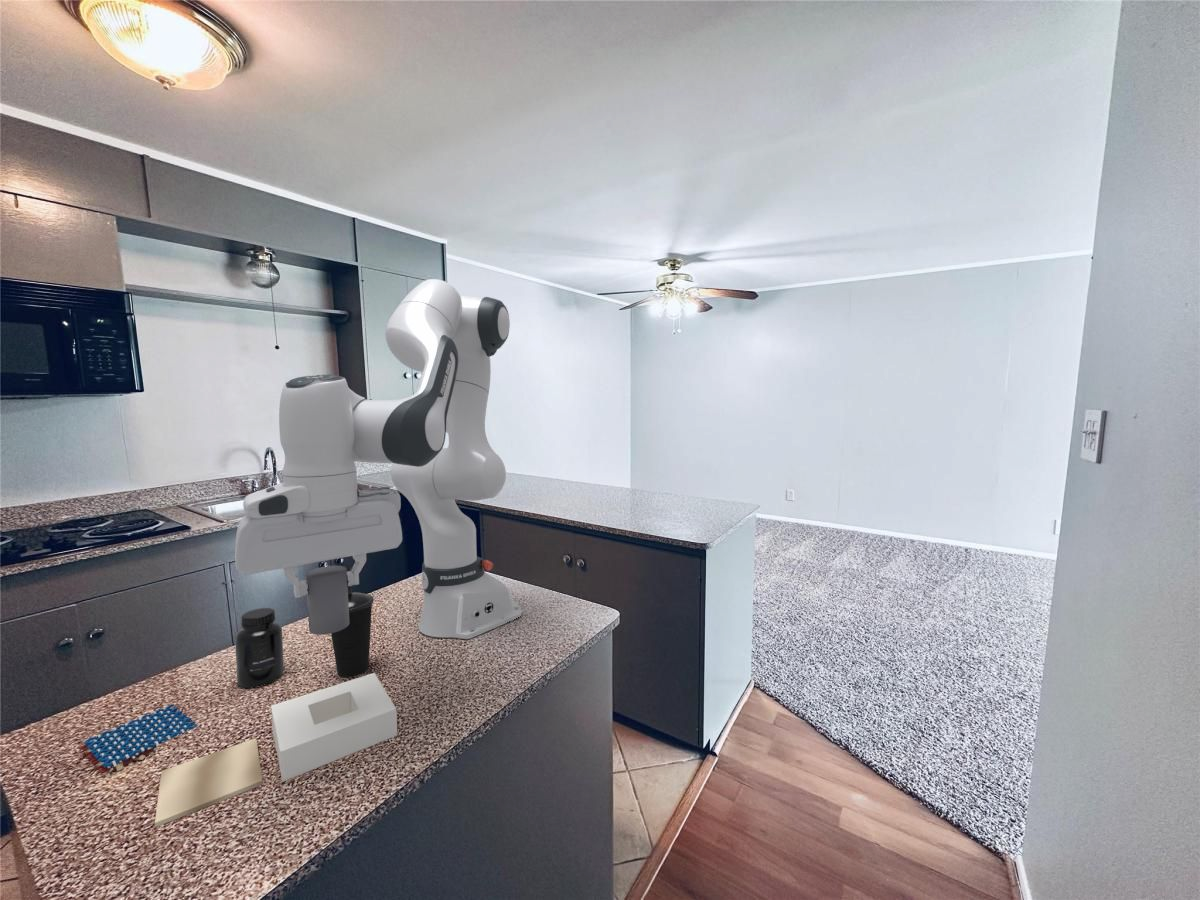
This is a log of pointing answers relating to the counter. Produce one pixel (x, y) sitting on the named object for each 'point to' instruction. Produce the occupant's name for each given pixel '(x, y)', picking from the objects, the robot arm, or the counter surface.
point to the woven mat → (134, 739)
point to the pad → (207, 781)
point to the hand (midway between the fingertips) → (327, 589)
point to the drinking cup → (354, 636)
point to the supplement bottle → (259, 648)
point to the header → (331, 724)
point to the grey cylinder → (327, 599)
